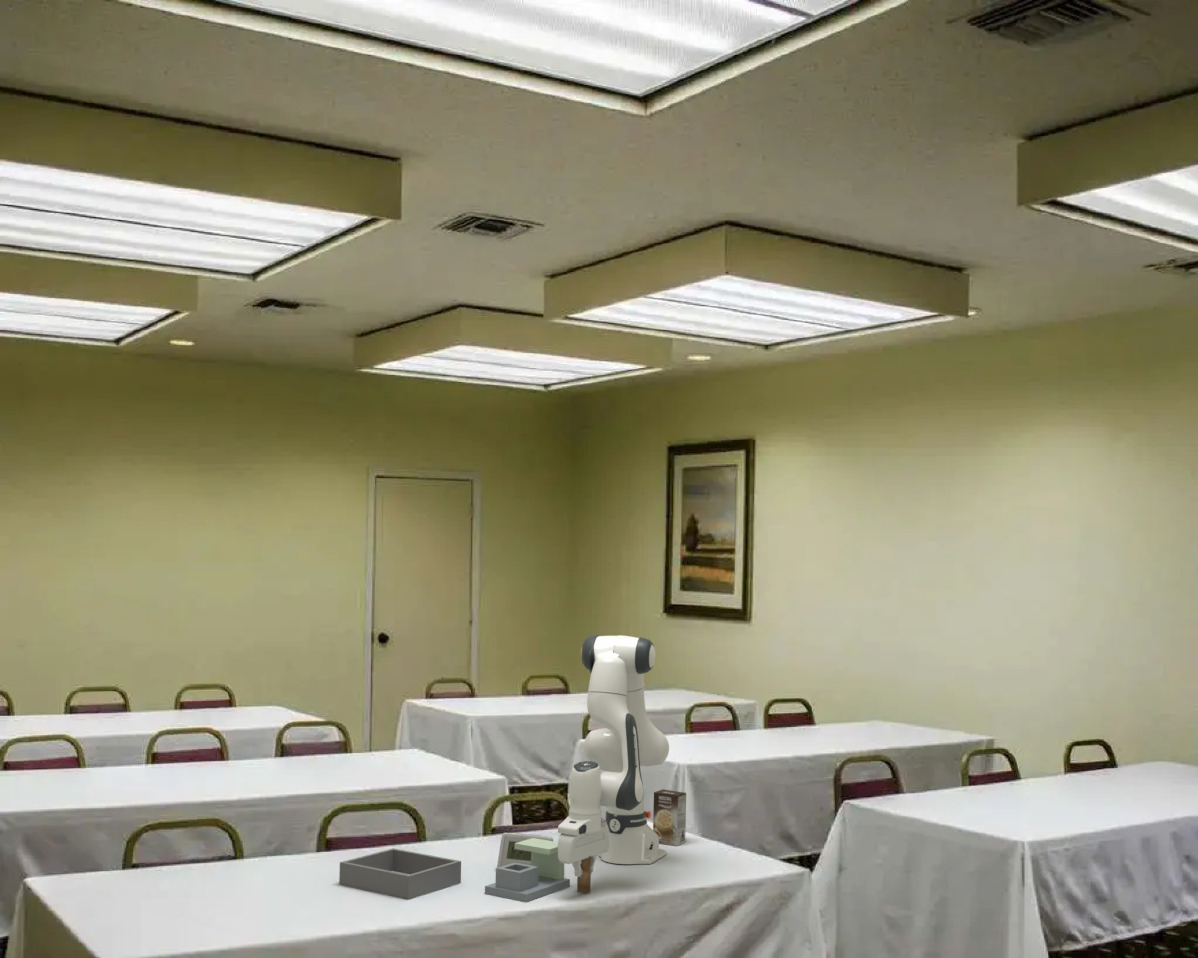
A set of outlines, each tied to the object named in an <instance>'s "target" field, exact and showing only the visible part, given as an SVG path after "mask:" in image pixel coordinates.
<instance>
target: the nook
mask: <svg viewBox="0 0 1198 958" xmlns="http://www.w3.org/2000/svg"><path fill="white" fill-rule="evenodd" d="M514 849H518V850H524V851H530V852H531V865H525V864H520V863H515V862H514V863H511V864H508V865H505V866H501V867H498V868H497V867H496V868H495V882H492V883H491V884H487V885H484V894H485V895H490V896H495V897H500V898H505V899H509V900H513V901H518V902H523V903H524V902H525V903H528V902H531V901H534V900H537V899H540V898H543V897H544V896H548V895H550V894H553V893H556V892H559V891H561V890H564V889H568V888H570V887H571V879H570V878H565V863H561V862H560V861H559V859H558V841H554V840H553V841H548V840H542V839H536V838H531V839H528V840H524V841H521V842H517V843H515V848H514Z"/></svg>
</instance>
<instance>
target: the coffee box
mask: <svg viewBox="0 0 1198 958" xmlns="http://www.w3.org/2000/svg"><path fill="white" fill-rule="evenodd" d="M652 817H653V818H652V819H653V821H652V830H653V831H654V832H655V833H656V834H657V835H658V838H659V845H660V844H662V845H667V846H673V847H678V846H680V845H683V844H685V843H686V828H687V827H686V826H687V825H686V824H687V823H686V820H687V792H683V791H678V790H677V791H676V790H672V789H663V788H662V789H660V790H656V791H654V792H653V815H652Z"/></svg>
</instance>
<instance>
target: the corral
mask: <svg viewBox="0 0 1198 958" xmlns="http://www.w3.org/2000/svg"><path fill="white" fill-rule="evenodd" d="M461 879H462V860H457V859H454V858H448V857H447V858H446V857H442V856H435V855H431V854H426V853H425V854H424V853H420V852H415V851H409V850H404V849H399V848H394V847H392V848H389V849H385V850H381V851H379V852H375V853H371V854H366V855H362V856H360V857H355V858H352V859H348V860H343V861H340V862H339V878H338V884H339V885H340V886H343V887H345V886H346V887H350V888H354V889H357V890H358V889H360V890H364V891H367V892H372V893H377V894H382V895H386V896H391V897H395V898H400V899H404V900H411V899H414V898H417V897H420V896H424V895H427V894H431V893H434V892H437V891H440V890H443V889H446V888H449V887H452V886H456V885H459V884H461V883H462V882H461V881H462V880H461Z"/></svg>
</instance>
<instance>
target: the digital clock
mask: <svg viewBox="0 0 1198 958" xmlns="http://www.w3.org/2000/svg"><path fill="white" fill-rule="evenodd" d="M531 838H536V839H542V840H548V841H554V838H553V837H552V836H545V835H544V836H543V835H541V834H539V835H538V834H527V833H517V832H516V833H514V832H503V833H502V834H501V838H500V847H499V852H498V857H497V865H496V866H497V867H496V868H498V867H501V866H505V865H508V864H511V863H514V862H515V863H520V864H525V865H531V852H530V851H524V850H518V849H514V848H515V843H517V842H521V841H524V840H528V839H531Z"/></svg>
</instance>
